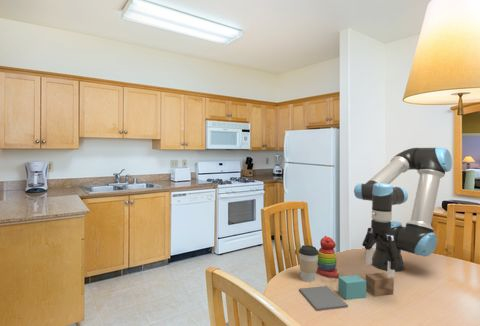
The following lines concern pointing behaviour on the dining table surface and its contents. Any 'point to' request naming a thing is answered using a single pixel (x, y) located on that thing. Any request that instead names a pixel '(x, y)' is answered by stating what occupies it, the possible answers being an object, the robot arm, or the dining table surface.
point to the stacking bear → (327, 258)
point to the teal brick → (352, 287)
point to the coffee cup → (308, 263)
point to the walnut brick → (379, 284)
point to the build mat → (322, 298)
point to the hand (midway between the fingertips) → (379, 270)
